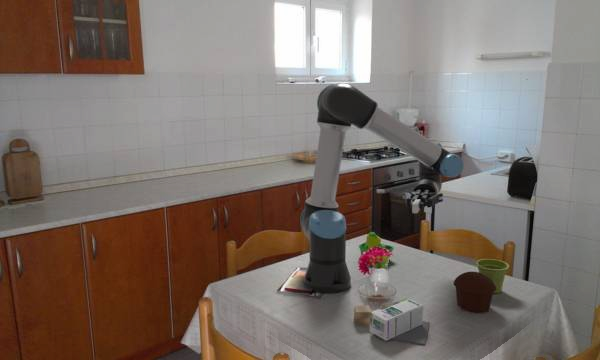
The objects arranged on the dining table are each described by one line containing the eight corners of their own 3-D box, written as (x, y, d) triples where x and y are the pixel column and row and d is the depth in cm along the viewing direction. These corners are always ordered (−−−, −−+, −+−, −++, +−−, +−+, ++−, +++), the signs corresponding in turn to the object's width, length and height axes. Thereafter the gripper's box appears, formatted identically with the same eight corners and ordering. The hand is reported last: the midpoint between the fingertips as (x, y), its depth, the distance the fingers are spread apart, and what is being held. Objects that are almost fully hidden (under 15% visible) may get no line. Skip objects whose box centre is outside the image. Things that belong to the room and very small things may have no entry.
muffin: (497, 303, 143) (499, 271, 141) (492, 318, 133) (494, 284, 131) (456, 295, 148) (457, 264, 146) (448, 309, 139) (450, 276, 137)
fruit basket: (394, 259, 180) (395, 230, 178) (381, 266, 173) (382, 236, 171) (368, 253, 187) (369, 225, 185) (355, 259, 181) (356, 230, 179)
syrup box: (423, 304, 128) (385, 319, 120) (422, 325, 129) (385, 341, 121) (407, 297, 133) (369, 311, 124) (406, 317, 134) (368, 332, 125)
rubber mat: (376, 337, 124) (376, 335, 124) (385, 316, 135) (385, 315, 135) (424, 345, 120) (424, 343, 120) (429, 323, 131) (429, 322, 131)
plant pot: (502, 299, 145) (504, 271, 144) (470, 291, 151) (472, 265, 150) (510, 288, 153) (512, 262, 151) (480, 282, 158) (481, 256, 157)
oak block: (356, 326, 130) (356, 312, 129) (354, 319, 134) (354, 305, 133) (370, 325, 130) (371, 312, 129) (368, 318, 134) (368, 305, 133)
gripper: (445, 203, 161) (437, 222, 140) (406, 202, 166) (392, 220, 145) (445, 181, 160) (437, 196, 139) (406, 180, 165) (392, 195, 144)
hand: (414, 208), depth 142 cm, fingers closed
